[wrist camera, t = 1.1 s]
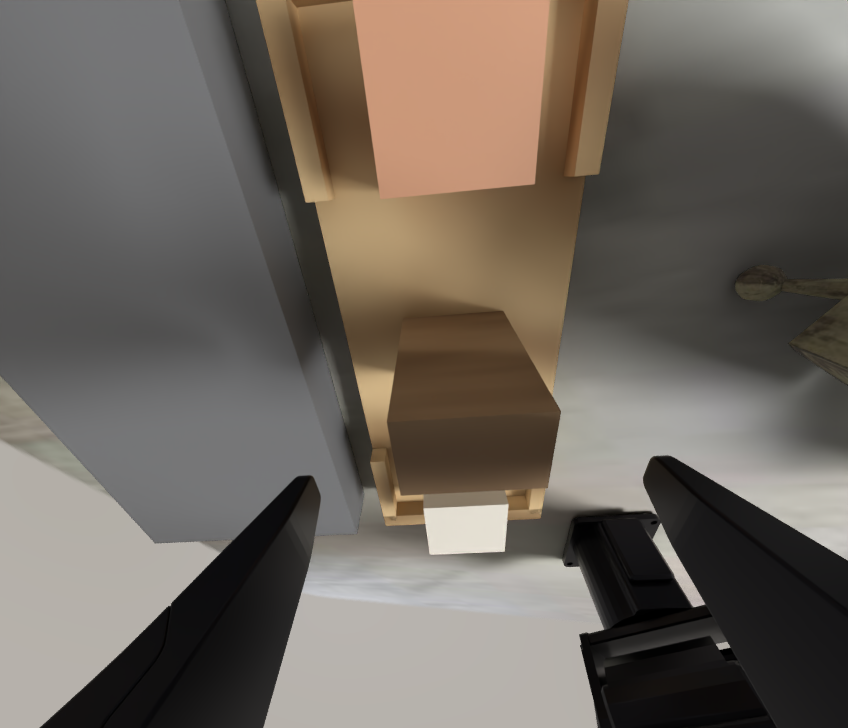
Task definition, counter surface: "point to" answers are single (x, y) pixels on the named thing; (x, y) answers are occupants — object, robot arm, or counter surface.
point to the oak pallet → (448, 261)
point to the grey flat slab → (158, 270)
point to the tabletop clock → (828, 336)
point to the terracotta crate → (452, 92)
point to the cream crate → (466, 522)
